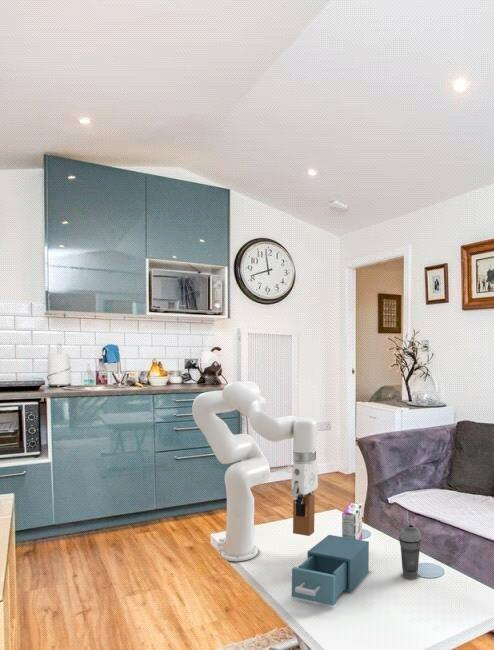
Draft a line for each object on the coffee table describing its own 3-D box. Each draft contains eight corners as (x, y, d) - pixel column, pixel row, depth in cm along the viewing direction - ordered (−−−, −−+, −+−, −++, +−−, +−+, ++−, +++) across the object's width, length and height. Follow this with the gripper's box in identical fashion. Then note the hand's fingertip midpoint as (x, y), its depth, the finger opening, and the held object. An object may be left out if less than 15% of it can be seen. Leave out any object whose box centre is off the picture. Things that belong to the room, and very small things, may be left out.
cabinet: (350, 592, 145) (350, 559, 146) (307, 583, 150) (307, 551, 151) (368, 572, 158) (368, 541, 159) (328, 564, 164) (328, 534, 165)
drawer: (325, 614, 132) (326, 584, 132) (283, 604, 137) (283, 575, 137) (352, 584, 148) (353, 557, 149) (313, 576, 153) (314, 550, 154)
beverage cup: (415, 583, 151) (415, 516, 152) (394, 577, 155) (394, 512, 156) (425, 574, 157) (425, 510, 159) (405, 568, 161) (405, 506, 162)
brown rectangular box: (309, 536, 156) (309, 497, 157) (292, 533, 159) (293, 495, 159) (314, 532, 160) (314, 494, 161) (298, 529, 162) (298, 492, 163)
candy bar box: (348, 549, 176) (349, 502, 177) (362, 550, 175) (362, 503, 176) (341, 562, 165) (341, 512, 166) (355, 564, 164) (356, 513, 165)
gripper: (301, 463, 152) (301, 523, 150) (326, 452, 167) (325, 507, 166) (281, 460, 155) (280, 520, 153) (306, 450, 170) (306, 504, 169)
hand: (303, 513), depth 160 cm, fingers closed on brown rectangular box, 3 cm apart
